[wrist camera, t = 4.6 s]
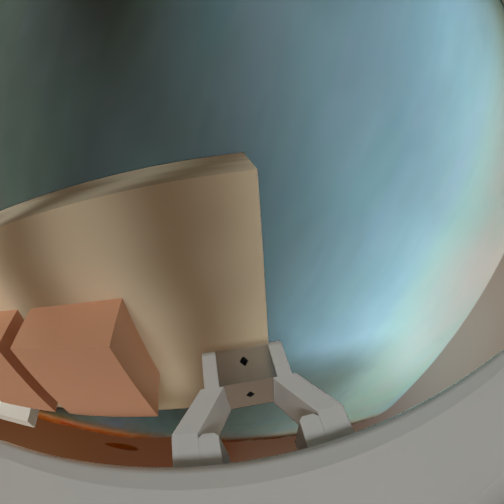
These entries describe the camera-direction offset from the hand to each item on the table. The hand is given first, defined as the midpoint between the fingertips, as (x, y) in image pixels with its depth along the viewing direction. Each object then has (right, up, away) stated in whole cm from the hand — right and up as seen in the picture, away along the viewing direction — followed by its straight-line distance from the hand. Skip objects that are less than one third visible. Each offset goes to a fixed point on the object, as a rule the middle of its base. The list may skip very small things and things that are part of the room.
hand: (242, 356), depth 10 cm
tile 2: (-7, 0, +1) cm, 7 cm away
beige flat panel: (-8, +1, +3) cm, 9 cm away
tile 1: (-13, -1, 0) cm, 13 cm away
